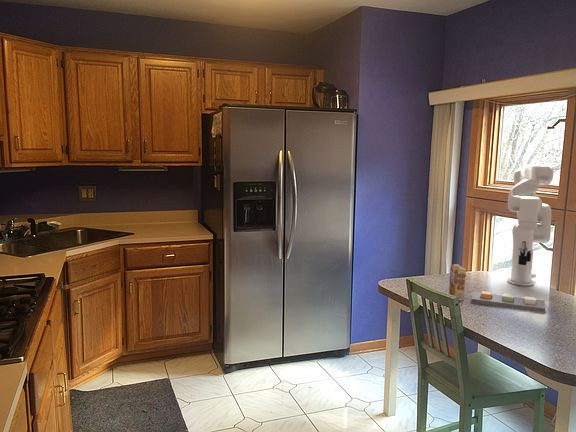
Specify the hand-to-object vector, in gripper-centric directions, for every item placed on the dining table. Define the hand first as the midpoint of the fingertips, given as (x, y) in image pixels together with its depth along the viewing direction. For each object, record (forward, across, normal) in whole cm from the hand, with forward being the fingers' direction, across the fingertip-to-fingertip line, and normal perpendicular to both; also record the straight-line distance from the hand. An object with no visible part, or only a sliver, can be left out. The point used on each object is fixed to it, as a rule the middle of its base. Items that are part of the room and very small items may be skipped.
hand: (524, 263), depth 215 cm
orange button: (+17, +5, -14) cm, 23 cm away
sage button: (+17, +3, -5) cm, 18 cm away
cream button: (+17, +2, +4) cm, 18 cm away
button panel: (+19, +3, -5) cm, 20 cm away
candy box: (+20, +8, -27) cm, 34 cm away
